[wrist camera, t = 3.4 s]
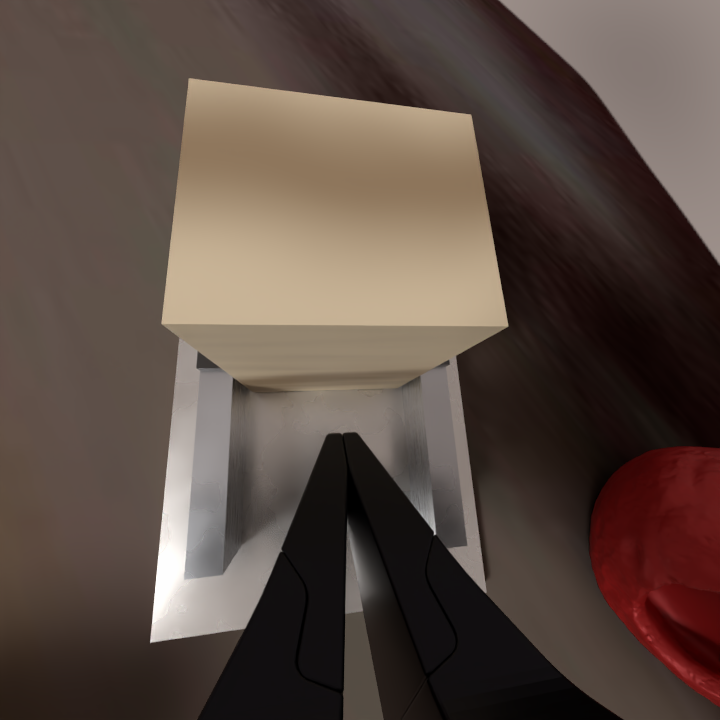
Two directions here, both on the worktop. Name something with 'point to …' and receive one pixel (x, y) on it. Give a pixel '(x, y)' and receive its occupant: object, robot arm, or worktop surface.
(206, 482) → the chute
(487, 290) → the block
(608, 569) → the pomegranate
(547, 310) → the worktop surface
